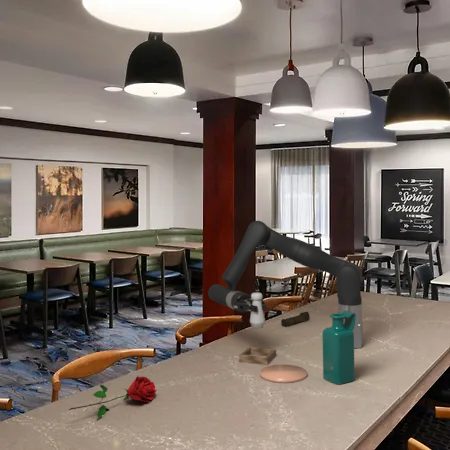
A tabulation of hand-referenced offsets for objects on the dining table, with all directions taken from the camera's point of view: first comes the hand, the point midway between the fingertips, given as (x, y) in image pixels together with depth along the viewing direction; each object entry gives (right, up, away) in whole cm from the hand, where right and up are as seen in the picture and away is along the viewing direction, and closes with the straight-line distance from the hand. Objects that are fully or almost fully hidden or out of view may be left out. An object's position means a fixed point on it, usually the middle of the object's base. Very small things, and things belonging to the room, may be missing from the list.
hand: (261, 308), depth 192 cm
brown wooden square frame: (-1, -19, +4) cm, 20 cm away
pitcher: (+25, -20, -20) cm, 38 cm away
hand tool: (+21, -17, +58) cm, 63 cm away
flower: (-45, -23, -41) cm, 65 cm away
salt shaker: (-1, -8, +3) cm, 8 cm away
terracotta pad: (+7, -20, -15) cm, 26 cm away
